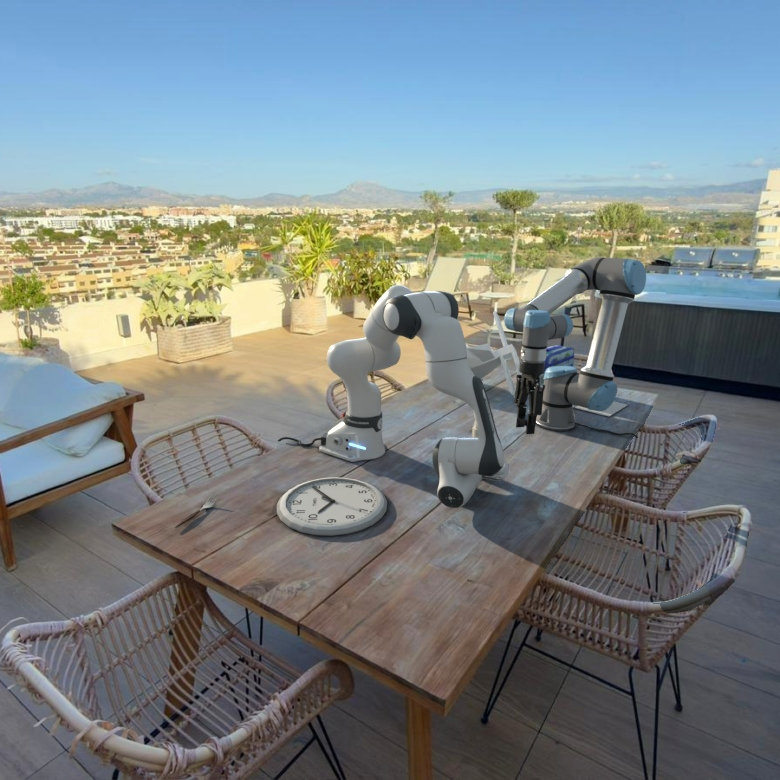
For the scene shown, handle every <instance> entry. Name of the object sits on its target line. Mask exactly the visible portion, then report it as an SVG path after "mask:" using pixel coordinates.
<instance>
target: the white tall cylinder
mask: <svg viewBox="0 0 780 780" xmlns="http://www.w3.org/2000/svg"><path fill="white" fill-rule="evenodd" d="M471 428H472V430H471V438H478V437H480V436H479V433H478V429H477V425H476V421H475V420H474V422H473V425H472V427H471Z"/></svg>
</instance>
